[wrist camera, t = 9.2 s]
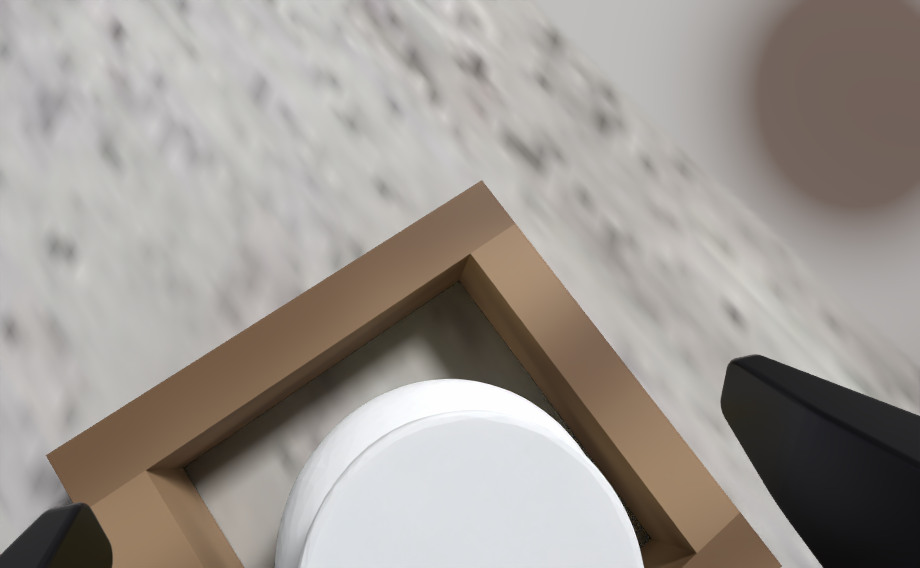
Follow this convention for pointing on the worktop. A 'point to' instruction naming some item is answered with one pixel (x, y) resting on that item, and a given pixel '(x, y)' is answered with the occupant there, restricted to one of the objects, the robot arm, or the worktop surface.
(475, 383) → the supplement bottle
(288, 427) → the worktop surface
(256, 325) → the brown wooden frame
